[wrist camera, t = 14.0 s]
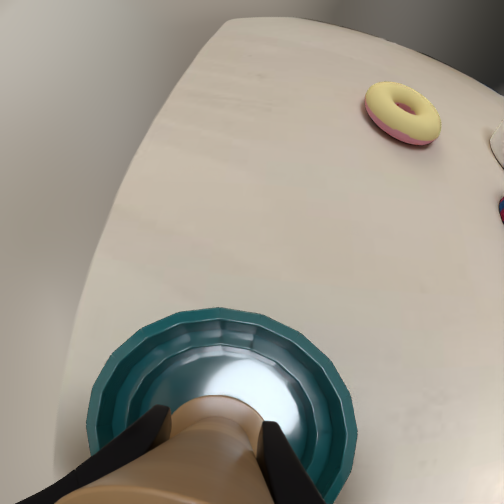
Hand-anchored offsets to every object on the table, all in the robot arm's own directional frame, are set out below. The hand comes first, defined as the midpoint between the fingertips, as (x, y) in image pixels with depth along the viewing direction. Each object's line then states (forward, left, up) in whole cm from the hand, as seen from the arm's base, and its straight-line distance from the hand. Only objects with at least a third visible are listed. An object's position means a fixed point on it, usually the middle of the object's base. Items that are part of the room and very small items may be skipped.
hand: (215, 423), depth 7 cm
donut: (+30, -14, -9) cm, 34 cm away
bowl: (-1, 0, -9) cm, 9 cm away
